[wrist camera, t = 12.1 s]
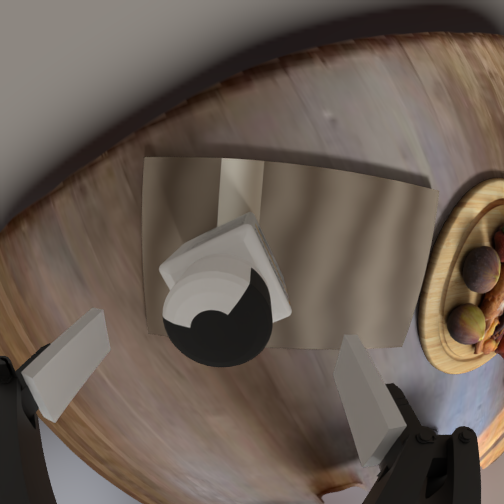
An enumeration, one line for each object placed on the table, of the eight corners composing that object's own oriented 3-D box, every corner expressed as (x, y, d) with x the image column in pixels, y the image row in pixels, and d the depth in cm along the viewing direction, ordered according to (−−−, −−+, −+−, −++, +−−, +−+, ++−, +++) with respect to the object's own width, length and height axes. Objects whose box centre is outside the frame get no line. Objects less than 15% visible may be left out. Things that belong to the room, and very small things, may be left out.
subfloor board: (432, 189, 26) (439, 191, 24) (397, 340, 31) (402, 347, 30) (149, 158, 26) (143, 157, 24) (152, 327, 31) (147, 334, 30)
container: (284, 279, 27) (304, 358, 15) (217, 307, 28) (192, 393, 16) (252, 210, 26) (247, 240, 13) (182, 243, 27) (125, 297, 14)
